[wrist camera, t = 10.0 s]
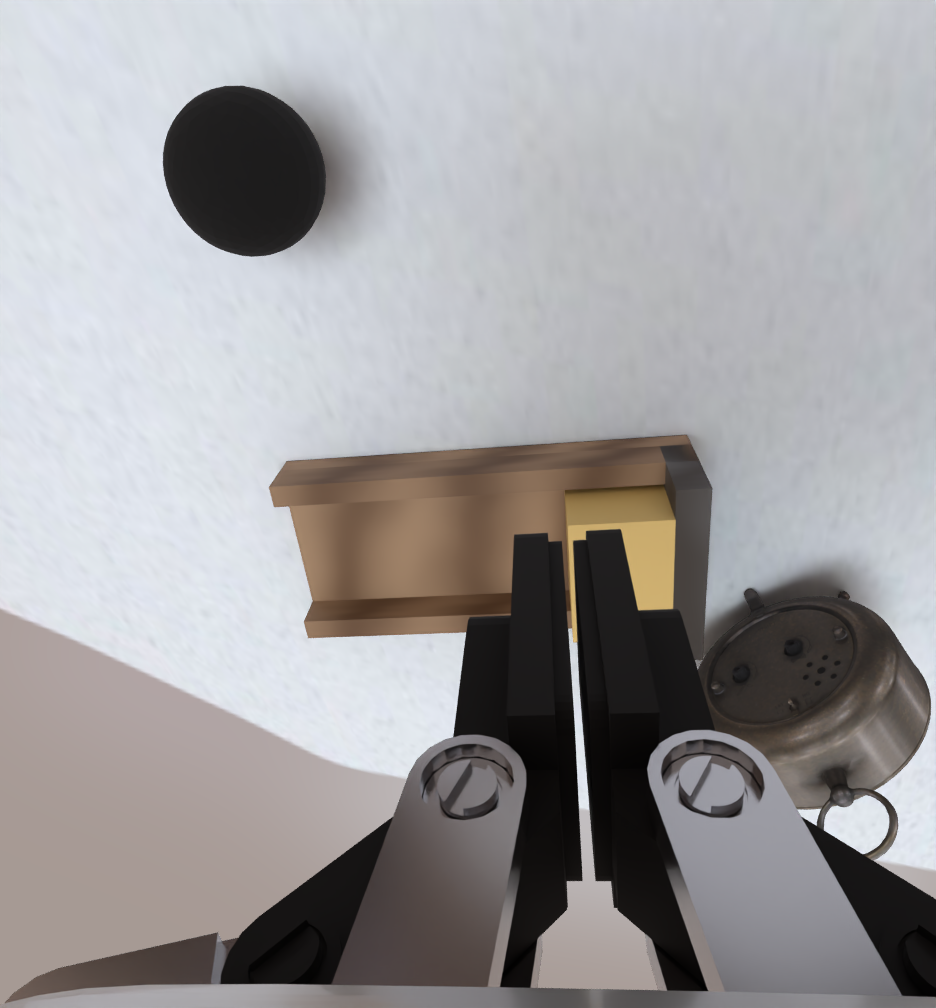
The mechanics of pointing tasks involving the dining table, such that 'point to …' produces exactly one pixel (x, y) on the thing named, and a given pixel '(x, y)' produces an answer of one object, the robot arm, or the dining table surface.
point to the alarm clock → (820, 699)
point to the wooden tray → (470, 528)
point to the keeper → (628, 537)
